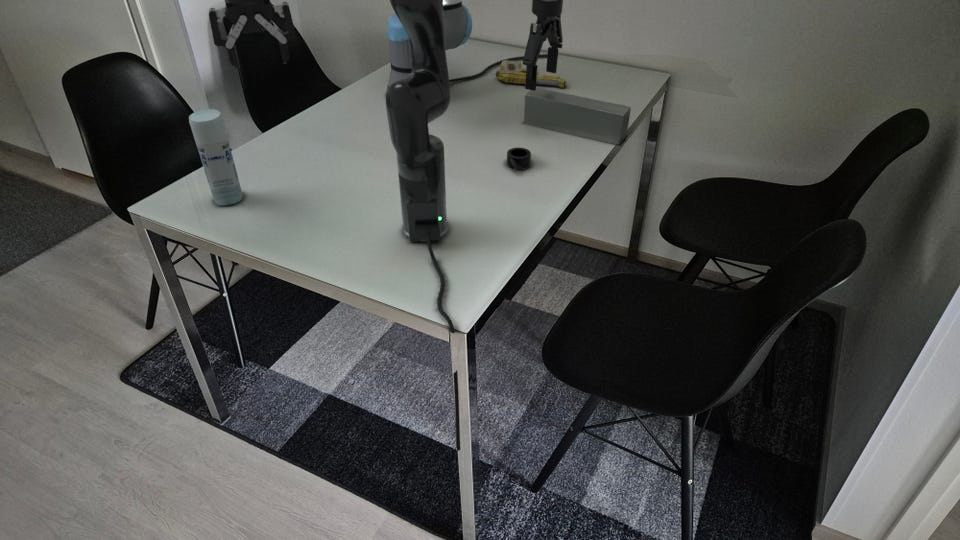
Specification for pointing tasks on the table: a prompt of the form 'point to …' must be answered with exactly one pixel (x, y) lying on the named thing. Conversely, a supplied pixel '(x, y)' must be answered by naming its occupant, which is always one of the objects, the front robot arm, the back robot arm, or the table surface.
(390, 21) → the back robot arm
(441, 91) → the front robot arm
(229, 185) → the spray paint can
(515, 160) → the duct tape
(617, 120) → the bar
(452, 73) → the table surface
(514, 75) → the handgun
